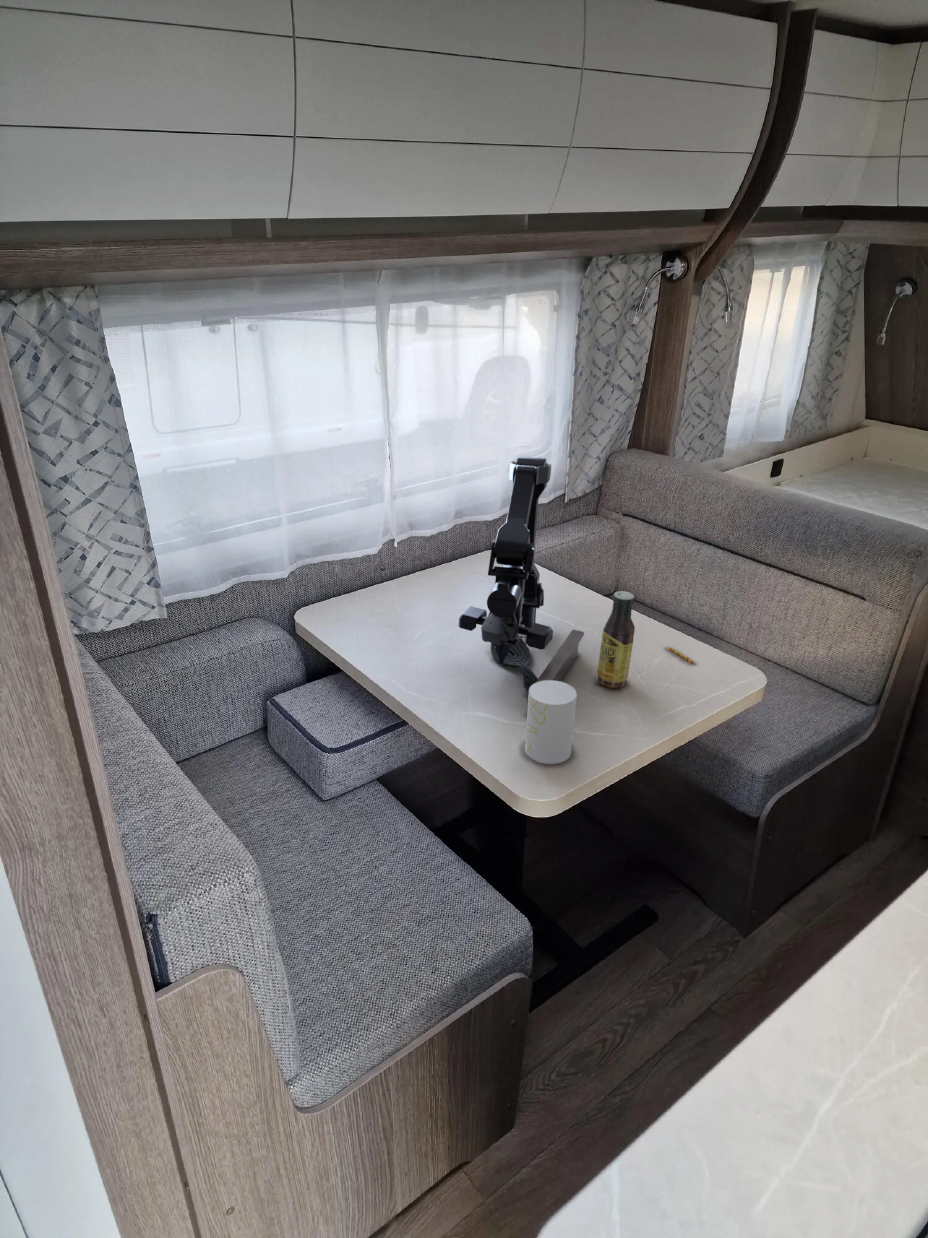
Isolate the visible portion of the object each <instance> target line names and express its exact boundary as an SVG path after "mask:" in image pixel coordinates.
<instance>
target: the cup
mask: <svg viewBox="0 0 928 1238" xmlns="http://www.w3.org/2000/svg"><path fill="white" fill-rule="evenodd" d="M577 695H578V694H577V691H576V689H575V688H574V687H573V686H572V685H570V684H569V683H566V682H564V681H554V680H545V681H540V682H537V683H534V684H533V685H532V686H531V687H530V688H529V694H528V698H527V699H528V701H527V702H528V703H527V714H526V726H525V728H526V729H525V745H524V752H525V754H526V756H528V757H529V758H530V759H531V760H532V761H534V762H537V763H540V764H544V765H556V764H557V765H558V764H561V763H563V762H566V761H567V760H568V759H570V757H571V755H572V747H573V746H572V745H573V735H574V725H575V714H576V706H577V705H576V703H577Z"/></svg>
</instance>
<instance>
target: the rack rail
mask: <svg viewBox="0 0 928 1238" xmlns="http://www.w3.org/2000/svg"><path fill="white" fill-rule="evenodd" d="M584 636H585V631H583V630H577V629H572V630H571V631H570V633H569V634H568V635H567V637H566V638H565V640H564V641H563V643H562V644H561V646H560V647H559V648H558V649H557V651H556V652H555V654H554V655H553V657H552V659H551V660H550V661H549V663H548V664H547V665H546V666H545V668H544V669H543V671H542V673H541V674H540V675H539V677H537V678H538V680H537V681H536V683H537V682H540V681H545V680H554V681H560V682H562V679H563V678H564V677H565V675H566V673H567V672H568V670H569V668H570V667H571V665H572V664H573V663H574V661H575V659H576V658H577V657H578V652H579V644H580V642H581V640H582V639H583V637H584Z"/></svg>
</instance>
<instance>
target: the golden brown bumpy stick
mask: <svg viewBox="0 0 928 1238" xmlns="http://www.w3.org/2000/svg"><path fill="white" fill-rule="evenodd" d="M667 648H668V650H669V651H671V652H672V653H674V654H675V655H677V656H678V657H680V658H682V659H683V660H685V661H687V662H688V663H690V664H693V663H694V660H690V657H689V656H685V655H683V654H682V653H680V652H679V651H677V650H675V649H673V648H672V647H670V646H668V647H667Z"/></svg>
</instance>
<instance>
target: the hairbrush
mask: <svg viewBox="0 0 928 1238" xmlns="http://www.w3.org/2000/svg"><path fill="white" fill-rule="evenodd" d="M490 653H491V655H492V657H493V659H494V662H495V663H497V664H499V665H500V666H502V667H505V668H510V669H517V670H518V671H519V672H520V675H521V677H522V684H523V687H524V689H525V691H526V693H527V695H529V688H530V687H531V686H532V685H533V684H534V683H536V681H537V680H538V678H539V677H537V676H536V674H535V673H534V672H533V670H532V669H531V667H530V665H531V663H532V659H533V658H532V655H531V650H530V647H529V646H528V645H527V644H526V642H525V641H524V639H523V638H521V639H520V641H519V642H518V643H517V644H516V645H512V646H511V648H510V650H509V652H508V654H507V656H506V658H505V660H504V663H503V664H500V661H499V658H498V655H497V651H496V648H495V645H494V643H491V642H490Z"/></svg>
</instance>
